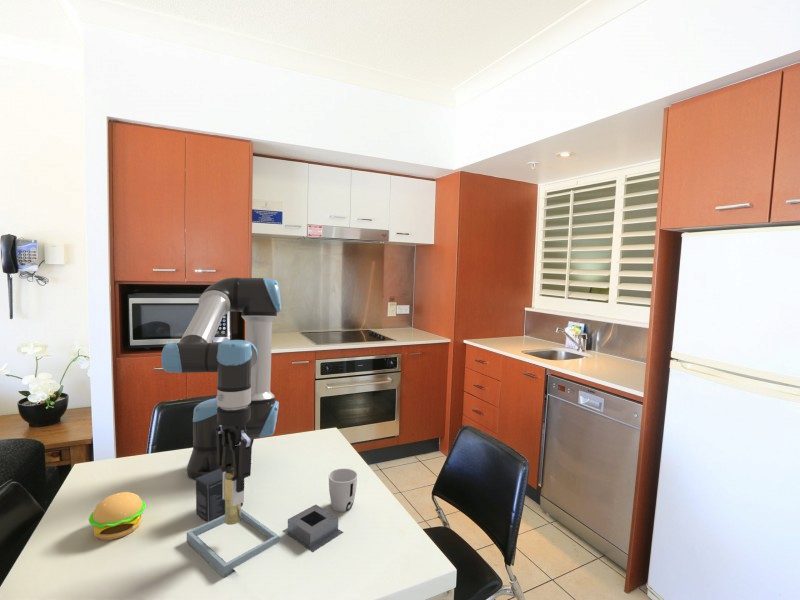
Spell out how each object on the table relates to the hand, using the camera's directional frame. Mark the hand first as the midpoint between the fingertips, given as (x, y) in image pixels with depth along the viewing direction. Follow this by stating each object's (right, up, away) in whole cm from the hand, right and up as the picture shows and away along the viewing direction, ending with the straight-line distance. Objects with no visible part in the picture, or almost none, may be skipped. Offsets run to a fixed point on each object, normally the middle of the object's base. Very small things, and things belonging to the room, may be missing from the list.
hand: (233, 499), depth 99 cm
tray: (0, -11, +1) cm, 11 cm away
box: (-10, -10, +15) cm, 20 cm away
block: (+18, -12, +5) cm, 22 cm away
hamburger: (-32, -10, +5) cm, 34 cm away
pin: (0, -5, 0) cm, 5 cm away
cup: (+24, -11, +17) cm, 32 cm away
